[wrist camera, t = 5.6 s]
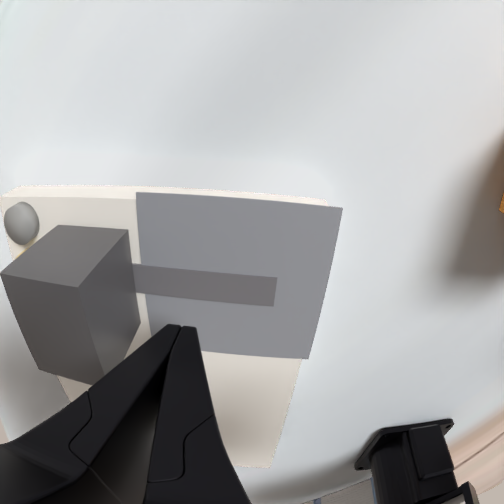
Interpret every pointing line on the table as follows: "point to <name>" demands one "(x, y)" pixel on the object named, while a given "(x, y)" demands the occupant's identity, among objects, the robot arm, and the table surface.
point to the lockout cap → (502, 205)
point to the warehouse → (351, 495)
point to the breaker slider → (75, 300)
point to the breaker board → (210, 284)
